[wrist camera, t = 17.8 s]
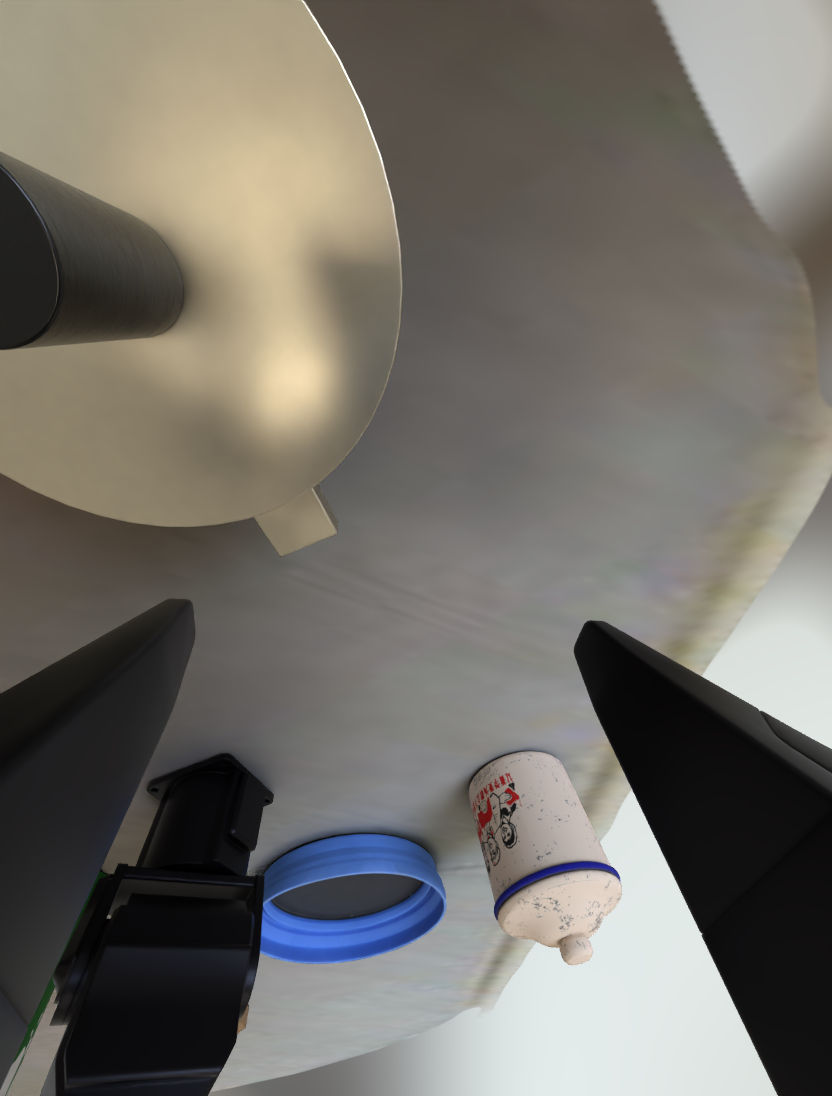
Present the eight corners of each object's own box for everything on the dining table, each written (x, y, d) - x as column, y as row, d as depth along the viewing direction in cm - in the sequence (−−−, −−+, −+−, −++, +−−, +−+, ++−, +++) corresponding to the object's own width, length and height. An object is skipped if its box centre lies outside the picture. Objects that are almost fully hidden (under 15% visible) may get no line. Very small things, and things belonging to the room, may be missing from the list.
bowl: (393, 802, 35) (397, 848, 32) (464, 880, 44) (472, 922, 41) (210, 874, 36) (197, 925, 33) (315, 936, 45) (312, 980, 42)
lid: (107, 570, 14) (-32, 713, 9) (-405, 35, 8) (-1972, -557, 3) (459, 421, 14) (527, 484, 8) (223, -319, 7) (-165, -2261, 2)
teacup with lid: (485, 744, 33) (545, 932, 23) (582, 749, 35) (676, 922, 25) (442, 827, 38) (474, 1011, 28) (528, 827, 40) (588, 997, 30)
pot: (210, 533, 21) (154, 618, 15) (-153, 48, 12) (-641, -215, 6) (433, 439, 20) (468, 489, 14) (222, -151, 11) (80, -673, 5)
